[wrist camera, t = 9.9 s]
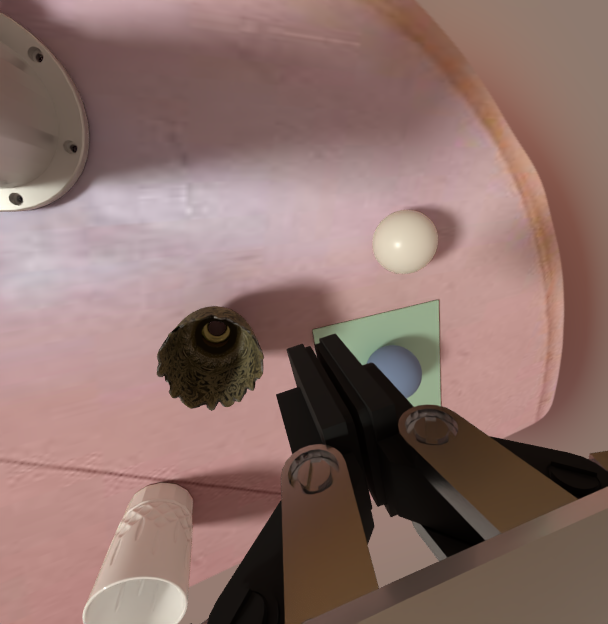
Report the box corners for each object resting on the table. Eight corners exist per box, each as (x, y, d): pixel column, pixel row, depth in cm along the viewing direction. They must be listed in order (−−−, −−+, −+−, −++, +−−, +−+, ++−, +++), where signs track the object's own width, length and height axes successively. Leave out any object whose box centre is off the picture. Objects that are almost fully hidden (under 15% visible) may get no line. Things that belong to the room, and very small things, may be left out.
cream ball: (422, 284, 26) (374, 286, 31) (459, 251, 28) (409, 258, 33) (396, 220, 24) (350, 233, 29) (438, 191, 27) (388, 208, 32)
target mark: (312, 329, 33) (312, 330, 32) (437, 299, 35) (438, 300, 34) (330, 438, 37) (331, 439, 37) (439, 406, 39) (440, 407, 39)
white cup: (207, 482, 36) (198, 578, 27) (188, 535, 38) (174, 643, 28) (131, 472, 34) (93, 575, 24) (115, 530, 35) (73, 645, 26)
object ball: (384, 415, 30) (364, 397, 36) (438, 399, 31) (410, 384, 36) (371, 357, 30) (353, 349, 35) (426, 342, 30) (400, 336, 36)
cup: (267, 346, 32) (277, 388, 25) (196, 373, 32) (185, 425, 24) (239, 278, 30) (241, 302, 22) (161, 306, 29) (136, 341, 21)
